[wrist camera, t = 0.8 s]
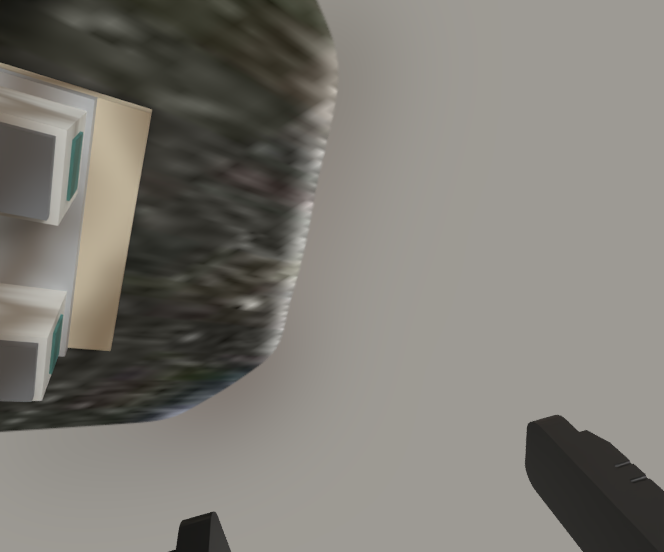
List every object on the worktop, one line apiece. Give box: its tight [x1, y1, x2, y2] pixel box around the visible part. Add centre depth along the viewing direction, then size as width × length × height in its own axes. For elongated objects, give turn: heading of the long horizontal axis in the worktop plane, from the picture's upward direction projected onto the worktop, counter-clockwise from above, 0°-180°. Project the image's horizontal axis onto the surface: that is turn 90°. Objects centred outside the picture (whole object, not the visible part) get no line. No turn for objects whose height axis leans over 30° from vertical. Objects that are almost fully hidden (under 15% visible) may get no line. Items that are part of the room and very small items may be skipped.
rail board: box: [0, 63, 152, 402], centre depth 24 cm, size 12×18×8 cm, turn 159°
